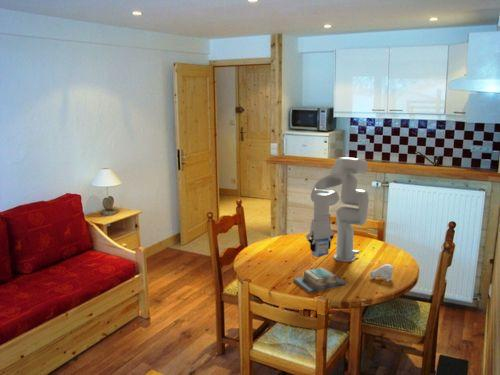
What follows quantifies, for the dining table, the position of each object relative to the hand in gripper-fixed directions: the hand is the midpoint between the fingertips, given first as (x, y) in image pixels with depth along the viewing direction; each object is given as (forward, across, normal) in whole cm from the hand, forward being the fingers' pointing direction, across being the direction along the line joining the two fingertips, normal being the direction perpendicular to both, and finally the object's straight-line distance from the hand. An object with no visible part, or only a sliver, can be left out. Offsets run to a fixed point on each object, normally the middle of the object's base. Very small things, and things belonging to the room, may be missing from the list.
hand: (320, 249), depth 236 cm
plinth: (+19, 0, 0) cm, 19 cm away
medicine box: (+3, 0, 0) cm, 3 cm away
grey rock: (+19, -32, +10) cm, 39 cm away
